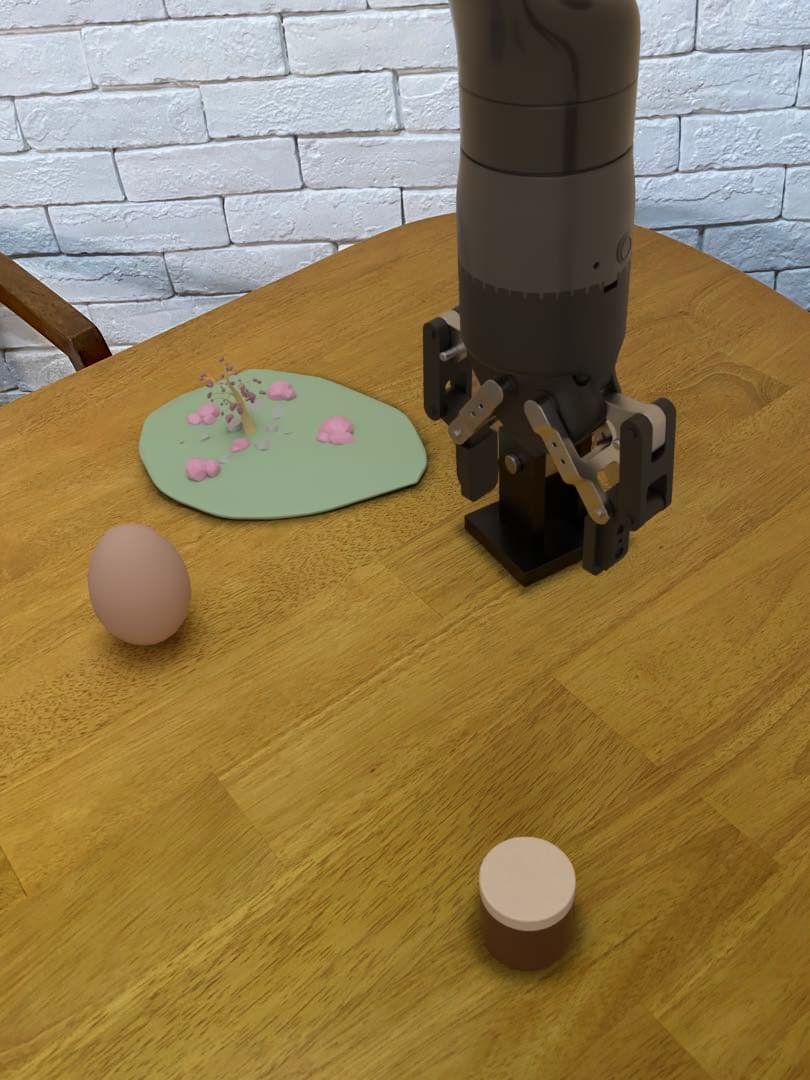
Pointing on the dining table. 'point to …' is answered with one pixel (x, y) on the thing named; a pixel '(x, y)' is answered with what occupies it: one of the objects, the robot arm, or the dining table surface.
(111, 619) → the egg
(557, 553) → the black angular piece
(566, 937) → the brown lidded jar
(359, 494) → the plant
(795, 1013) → the dining table surface
